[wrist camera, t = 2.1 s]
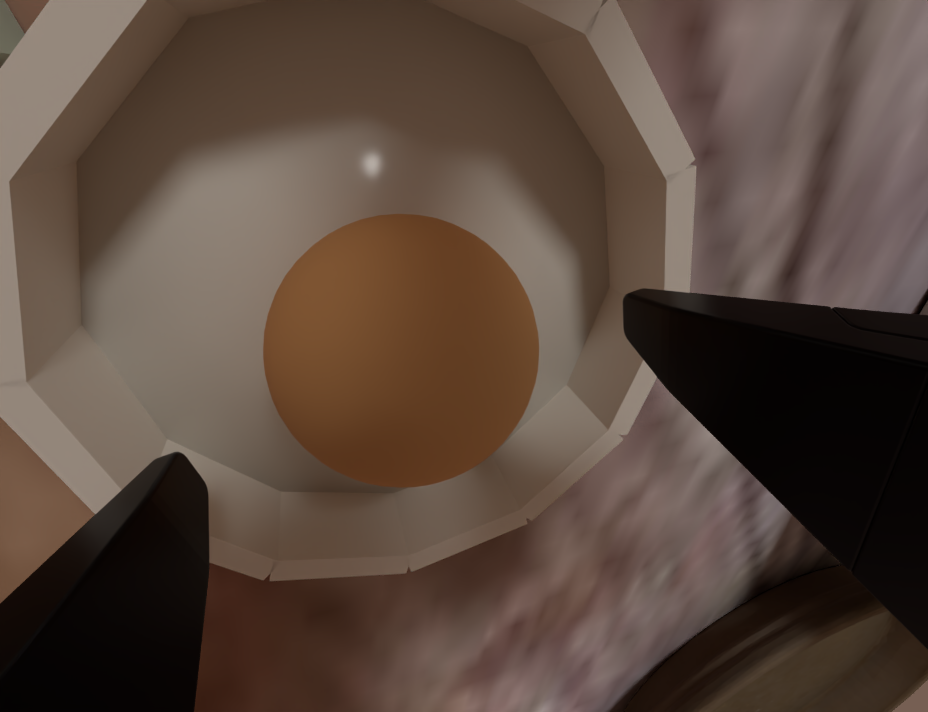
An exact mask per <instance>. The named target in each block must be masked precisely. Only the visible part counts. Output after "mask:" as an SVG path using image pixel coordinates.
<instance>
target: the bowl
mask: <svg viewBox="0 0 928 712" xmlns="http://www.w3.org/2000/svg"><path fill="white" fill-rule="evenodd" d="M694 160H695V157H694V155H693V153H692V151H691V149H690V147H689V145H688V143H687V141H686V139H685V137H684V135H683V133H682V131H681V129H680V127H679V125H678V123H677V121H676V119H675V117H674V115H673V113H672V111H671V109H670V107H669V105H668V103H667V101H666V99H665V97H664V95H663V93H662V91H661V89H660V87H659V85H658V83H657V81H656V79H655V77H654V75H653V73H652V71H651V69H650V67H649V65H648V63H647V61H646V59H645V57H644V55H643V53H642V51H641V49H640V47H639V45H638V43H637V41H636V39H635V37H634V35H633V33H632V31H631V29H630V27H629V25H628V23H627V21H626V19H625V17H624V15H623V13H622V11H621V9H620V7H619V5H618V3H617V1H616V0H49V2H48V3H47V5H46V6H45V7H44V9H43V10H42V12H41V13H40V14H39V16H38V17H37V18H36V20H35V21H34V23H33V24H32V25H31V27H30V28H29V29H28V31H27V32H26V34H25V35H24V36H23V38H22V39H21V41H20V42H19V43H18V45H17V46H16V47H15V49H14V50H13V52H12V53H11V54H10V56H9V57H8V58H7V60H6V61H5V63H4V64H3V65H2V67H1V68H0V417H1V418H2V419H3V420H4V421H5V422H6V423H7V424H8V425H9V426H10V427H11V428H12V429H13V430H14V431H15V432H16V433H17V434H18V435H19V436H20V437H21V438H22V439H23V440H24V442H25V443H26V444H27V445H28V446H29V447H30V448H31V449H32V450H33V451H34V452H35V453H36V454H37V455H38V456H39V457H40V458H41V459H42V460H43V461H44V462H45V463H46V464H47V465H48V466H49V467H50V468H51V469H52V470H53V471H54V472H55V473H56V474H57V475H58V477H59V478H60V479H61V480H62V481H63V482H64V483H65V484H66V485H67V486H68V487H69V488H70V489H71V490H72V491H73V492H74V493H75V494H76V495H77V496H78V497H79V498H80V499H81V500H82V501H83V502H84V503H85V504H86V505H87V506H88V507H89V508H90V509H91V510H92V512H93V513H94V514H96V513H98V512H99V511H100V510H101V509H102V508H103V507H104V506H105V505H106V504H107V503H108V502H109V501H110V500H111V499H112V498H114V497H115V496H116V495H117V494H118V493H119V492H120V491H121V490H122V489H123V488H124V487H125V486H126V485H127V484H128V483H130V482H131V481H132V480H133V479H134V478H135V477H136V476H137V475H138V474H139V473H140V472H141V471H142V470H143V469H145V468H146V467H147V466H148V465H149V464H150V463H151V462H152V461H153V460H154V459H156V458H159V457H162V456H164V455H167V454H170V453H173V452H181V453H183V454H184V455H185V456H186V457H187V458H188V459H189V461H190V462H191V464H192V465H193V466H194V468H195V469H196V470H197V472H198V473H199V474H200V476H201V477H202V478H203V480H204V481H205V483H206V485H207V488H208V497H209V563H212V564H215V565H218V566H221V567H224V568H227V569H230V570H233V571H236V572H239V573H242V574H245V575H248V576H251V577H254V578H257V579H260V580H264V579H265V578H266V577H267V576H268V575H269V574H270V580H269V581H284V580H302V579H319V578H337V577H355V576H372V575H390V574H406V572H407V569H408V567H409V568H410V570H411V572H413V571H416V570H418V569H421V568H423V567H425V566H428V565H430V564H433V563H435V562H437V561H440V560H442V559H445V558H447V557H449V556H452V555H454V554H457V553H459V552H461V551H464V550H466V549H469V548H471V547H473V546H476V545H478V544H481V543H483V542H485V541H488V540H490V539H493V538H495V537H497V536H500V535H502V534H505V533H507V532H509V531H512V530H514V529H517V528H519V527H521V526H524V525H526V524H527V520H526V518H528V519H529V520H531V521H533V520H534V519H535V518H536V517H537V516H538V515H539V514H541V513H542V512H543V511H544V510H545V509H546V508H547V507H548V506H550V505H551V504H552V503H553V502H554V501H555V500H556V499H557V498H559V497H560V496H561V495H562V494H563V493H564V492H565V491H566V490H567V489H569V488H570V487H571V486H572V485H573V484H574V483H575V482H576V481H578V480H579V479H580V478H581V477H582V476H583V475H584V474H585V473H587V472H588V471H589V470H590V469H591V468H592V467H593V466H594V465H596V464H597V463H598V462H599V461H600V460H601V459H602V458H603V457H604V456H606V455H607V454H608V453H609V452H610V451H611V450H612V449H613V448H615V447H616V446H617V445H618V444H619V443H620V442H621V441H622V440H624V439H623V438H622V437H621V436H620V435H627V434H628V432H629V430H630V429H631V427H632V425H633V423H634V421H635V419H636V417H637V415H638V413H639V411H640V409H641V407H642V405H643V404H644V402H645V400H646V398H647V396H648V394H649V392H650V390H651V388H652V386H653V384H654V382H655V380H656V378H657V376H656V375H655V374H654V373H653V371H652V370H651V369H650V368H649V366H648V365H647V364H646V363H645V361H644V360H643V359H642V357H641V356H640V355H639V354H638V352H637V351H636V350H635V349H634V347H633V346H632V345H631V344H630V342H629V341H628V340H627V338H626V336H625V334H624V329H623V298H624V296H625V295H626V294H627V293H630V292H633V291H635V290H638V289H642V288H647V289H657V290H667V291H677V292H687V293H690V278H691V259H692V241H693V222H694V203H695V185H696V166H693V165H690V164H691V163H692V162H693V161H694ZM389 214H413V215H422V216H428V217H433V218H438V219H441V220H444V221H447V222H450V223H453V224H455V225H457V226H459V227H461V228H463V229H465V230H467V231H469V232H471V233H472V234H474V235H476V236H477V237H479V238H480V239H481V240H483V241H484V242H486V243H487V244H489V245H490V246H491V247H492V248H493V249H494V250H495V251H496V252H497V253H498V254H499V255H500V256H501V257H502V258H503V259H504V260H505V261H506V262H507V264H508V265H509V266H510V267H511V269H512V270H513V271H514V273H515V274H516V275H517V277H518V279H519V281H520V282H521V284H522V286H523V288H524V290H525V292H526V294H527V295H528V298H529V301H530V303H531V306H532V308H533V312H534V316H535V321H536V325H537V330H538V337H539V362H538V373H537V378H536V383H535V386H534V389H533V392H532V395H531V398H530V401H529V404H528V406H527V408H526V410H525V412H524V414H523V416H522V418H521V420H520V421H519V423H518V424H517V426H516V428H515V429H514V430H513V431H512V433H511V434H510V435H509V436H508V438H507V439H506V440H505V442H504V443H503V444H502V445H501V446H500V447H499V448H498V449H497V450H496V451H495V452H494V453H492V454H491V455H490V456H489V457H488V458H487V459H485V460H484V461H482V462H481V463H480V464H478V465H477V466H475V467H474V468H472V469H470V470H468V471H466V472H465V473H463V474H460V475H458V476H456V477H454V478H451V479H448V480H445V481H442V482H439V483H435V484H431V485H426V486H419V487H404V488H399V487H385V486H378V485H372V484H367V483H364V482H361V481H357V480H354V479H352V478H350V477H348V476H345V475H343V474H341V473H339V472H337V471H334V470H333V469H331V468H329V467H328V466H326V465H325V464H323V463H321V462H320V461H319V460H318V459H317V458H315V457H314V456H313V455H312V454H311V453H309V452H308V451H307V450H306V449H305V448H304V447H303V446H302V445H301V444H300V443H299V442H298V441H297V440H296V439H295V438H294V436H293V435H292V434H291V432H290V431H289V429H288V428H287V426H286V425H285V423H284V422H283V420H282V418H281V417H280V415H279V414H278V411H277V409H276V407H275V405H274V403H273V400H272V397H271V394H270V391H269V388H268V384H267V380H266V376H265V370H264V360H263V343H264V330H265V325H266V321H267V316H268V313H269V310H270V307H271V304H272V302H273V299H274V296H275V294H276V291H277V289H278V288H279V286H280V284H281V282H282V281H283V279H284V277H285V275H286V274H287V273H288V271H289V270H290V269H291V268H292V266H293V265H294V264H295V262H296V261H297V260H298V259H299V258H300V257H301V256H302V255H303V254H304V253H305V252H306V251H307V250H308V249H309V248H311V247H312V246H313V245H314V244H315V243H317V242H318V241H319V240H321V239H322V238H324V237H325V236H326V235H328V234H329V233H331V232H333V231H335V230H337V229H339V228H341V227H343V226H345V225H347V224H350V223H353V222H355V221H358V220H361V219H365V218H369V217H374V216H378V215H389ZM619 434H620V435H619Z"/></svg>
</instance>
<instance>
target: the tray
mask: <svg viewBox="0 0 928 712" xmlns="http://www.w3.org/2000/svg"><path fill="white" fill-rule="evenodd" d="M24 35H25V34H24V32H23V31H22V29H21V27H20V26H19V24H18V22H17V21H16V19H15V17H14V15H13V14H12V12H11V10H10V9H9V7H8V5H7V4H6V2H5V0H0V67H1V66H2V65H3V64H4V63H5V61H6V60H7V58H8V57H9V56H10V54H11V53H12V52H13V50H14V49H15V47H16V46H17V45H18V43H19V42H20V41H21V39H22V38H23V36H24Z"/></svg>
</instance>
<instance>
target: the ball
mask: <svg viewBox="0 0 928 712" xmlns="http://www.w3.org/2000/svg"><path fill="white" fill-rule="evenodd" d="M263 360H264V370H265V376H266V380H267V384H268V388H269V391H270V394H271V397H272V400H273V403H274V405H275V407H276V409H277V411H278V414H279V415H280V417H281V418H282V420H283V422H284V423H285V425H286V426H287V428H288V429H289V431H290V432H291V434H292V435H293V436H294V438H295V439H296V440H297V441H298V442H299V443H300V444H301V445H302V446H303V447H304V448H305V449H306V450H307V451H308V452H309V453H311V454H312V455H313V456H314V457H315V458H317V459H318V460H319V461H320V462H321V463H323V464H325V465H326V466H328V467H329V468H331V469H333V470H334V471H337V472H339V473H341V474H343V475H345V476H348V477H350V478H352V479H354V480H357V481H361V482H364V483H367V484H372V485H378V486H385V487H399V488H404V487H419V486H426V485H431V484H435V483H439V482H442V481H445V480H448V479H451V478H454V477H456V476H458V475H460V474H463V473H465V472H466V471H468V470H470V469H472V468H474V467H475V466H477V465H478V464H480V463H481V462H482V461H484V460H485V459H487V458H488V457H489V456H490V455H491V454H492V453H494V452H495V451H496V450H497V449H498V448H499V447H500V446H501V445H502V444H503V443H504V442H505V440H506V439H507V438H508V436H509V435H510V434H511V433H512V431H513V430H514V429H515V428H516V426H517V424H518V423H519V421H520V420H521V418H522V416H523V414H524V412H525V410H526V408H527V406H528V404H529V401H530V398H531V395H532V392H533V389H534V386H535V383H536V378H537V373H538V362H539V337H538V330H537V325H536V321H535V316H534V312H533V308H532V306H531V303H530V301H529V298H528V295H527V294H526V292H525V290H524V288H523V286H522V284H521V282H520V281H519V279H518V277H517V275H516V274H515V273H514V271H513V270H512V269H511V267H510V266H509V265H508V264H507V262H506V261H505V260H504V259H503V258H502V257H501V256H500V255H499V254H498V253H497V252H496V251H495V250H494V249H493V248H492V247H491V246H490V245H489V244H487V243H486V242H484V241H483V240H481V239H480V238H479V237H477V236H476V235H474V234H472V233H471V232H469V231H467V230H465V229H463V228H461V227H459V226H457V225H455V224H453V223H450V222H447V221H444V220H441V219H438V218H433V217H428V216H422V215H413V214H389V215H378V216H374V217H369V218H365V219H361V220H358V221H355V222H353V223H350V224H347V225H345V226H343V227H341V228H339V229H337V230H335V231H333V232H331V233H329V234H328V235H326V236H325V237H324V238H322V239H321V240H319V241H318V242H317V243H315V244H314V245H313V246H312V247H311V248H309V249H308V250H307V251H306V252H305V253H304V254H303V255H302V256H301V257H300V258H299V259H298V260H297V261H296V262H295V264H294V265H293V266H292V268H291V269H290V270H289V271H288V273H287V274H286V275H285V277H284V279H283V281H282V282H281V284H280V286H279V288H278V289H277V291H276V294H275V296H274V299H273V302H272V304H271V307H270V310H269V313H268V316H267V321H266V325H265V330H264V343H263Z"/></svg>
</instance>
